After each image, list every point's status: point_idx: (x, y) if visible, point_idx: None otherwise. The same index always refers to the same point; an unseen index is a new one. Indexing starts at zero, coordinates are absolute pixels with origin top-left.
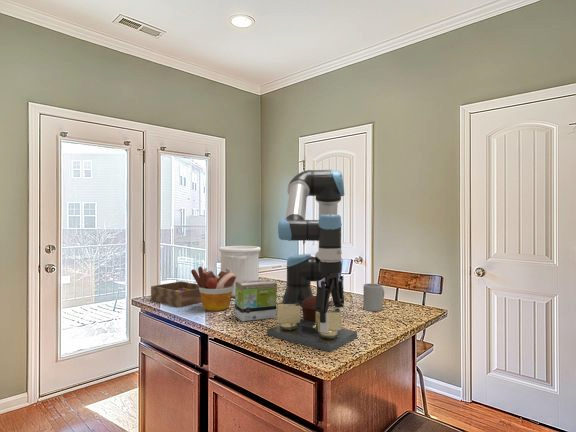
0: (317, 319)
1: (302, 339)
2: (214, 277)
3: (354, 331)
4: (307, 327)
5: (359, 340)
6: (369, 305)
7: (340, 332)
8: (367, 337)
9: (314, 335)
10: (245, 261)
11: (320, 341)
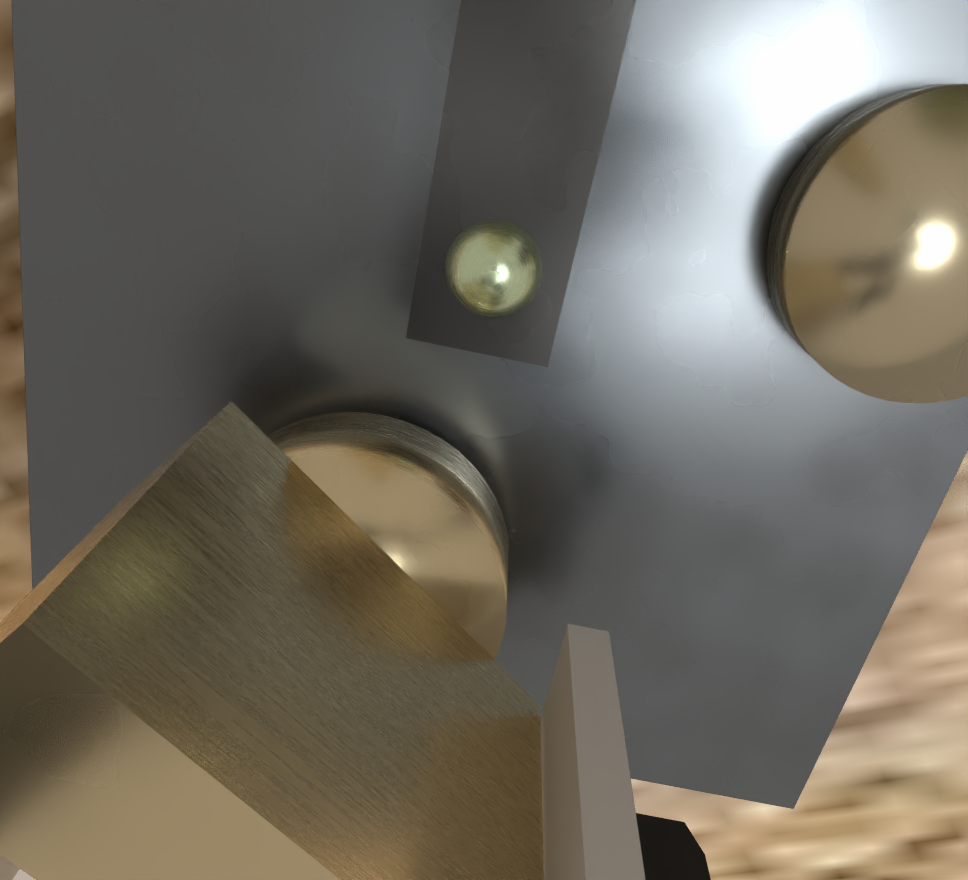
0: (35, 592)
1: (30, 194)
2: None
3: (780, 784)
4: (445, 105)
5: (654, 788)
6: None
7: (651, 638)
8: (809, 839)
9: (290, 329)
10: None
11: (88, 510)
